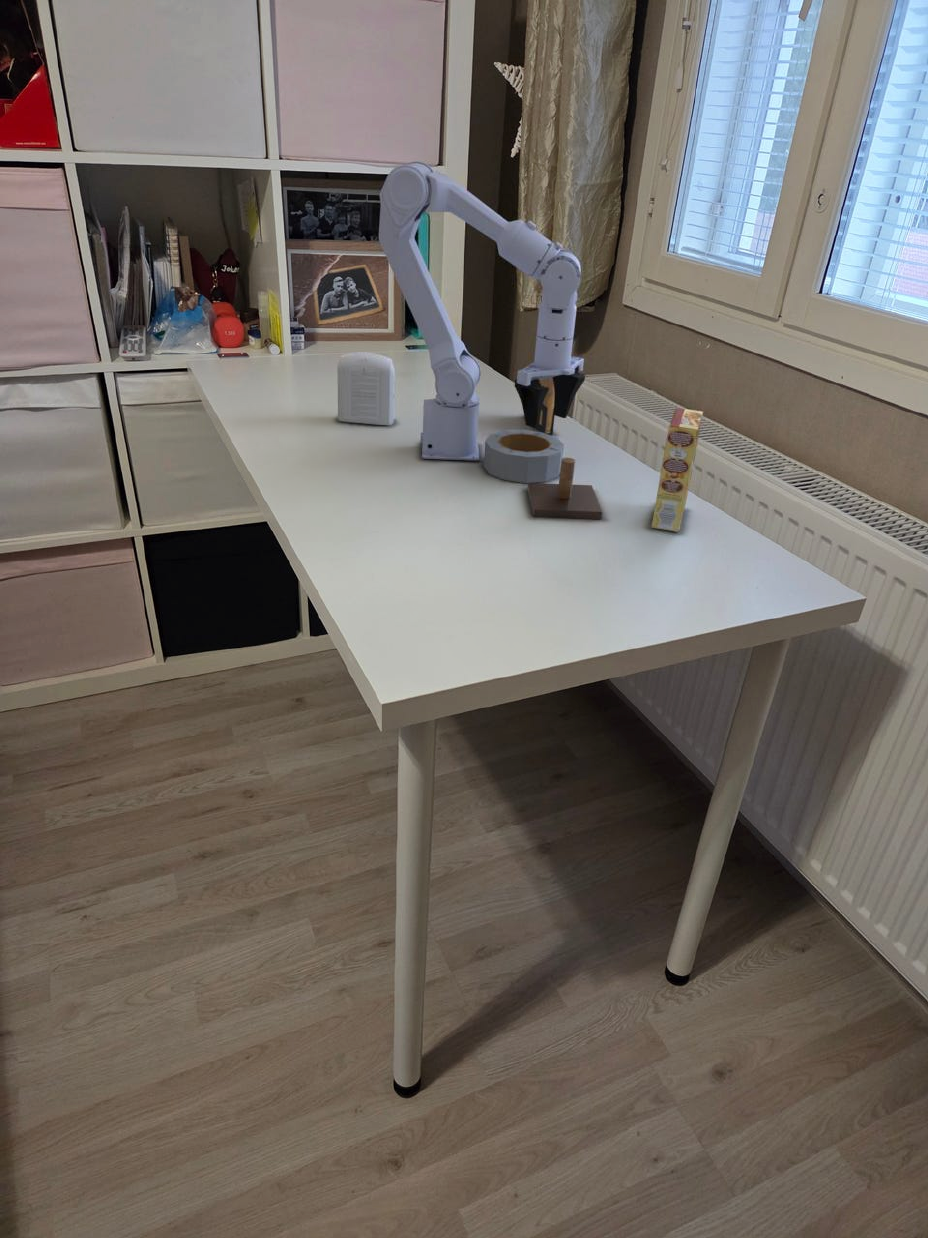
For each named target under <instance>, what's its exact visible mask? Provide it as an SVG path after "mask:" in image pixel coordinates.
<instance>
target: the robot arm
mask: <svg viewBox="0 0 928 1238" xmlns="http://www.w3.org/2000/svg"><path fill="white" fill-rule="evenodd" d="M379 201H380V209H379V210H380V211H379V224H378V225H379V226H378V241H379V244H380V246H381V249H382V252H383V253H384V256H385V257H386V259H387V262H388V264H389V266H390V269H391V271H392V273H393V275H394V277H395V279H396V281H397V284H398V286H399V288H400V290H401V292H402V295H403V297H404V299H405V301H406V304H407V306H408V308H409V310H410V312H411V314H412V316H413V319H414V321H415V324H416V326H417V328H418V330H419V332H420V334H421V336H422V337H421V338H422V339H423V341H424V343H425V345H426V347H427V349H428V354H429V360H430V367H431V370H432V372H433V375H434V388H435V392H436V395H435V398H429V399H428V398H427V399H423V410H422V411H423V412H422V413H423V414H422V432H420V444H422V449H421V450H422V451H421V458H422V459H426V460H427V459H428V460H446V461H447V460H450V461H451V460H453V461H476V462H478V461H480V451H479V443H478V429H479V427H478V426H479V413H480V412H479V411H480V410H479V409H480V397H479V396H478V394H477V392H476V390H475V388H476V387H477V386H478V383H479V381H480V379H481V376H482V368H481V364H480V363H479V362H478V360H477V359H476V358H475V357H474V356H473V355H472V354H470V352H469V351H468V349H467V348H466V346H465V343H464V341H462V340H461V338H460V337H459V336H458V335H457V333H456V331H455V328H454V326H453V324H452V321H451V319H450V316H449V314H448V312H447V310H446V307H445V306H444V303H443V300H442V299H441V296H440V294H439V291H438V289H437V286H436V285H435V282H434V280H433V278H432V276H431V274H430V271H429V268H428V267H427V264H426V262H425V259H424V257H423V255H422V253H421V250H420V248H419V246H418V244H417V241H416V239H415V237H416V233H417V231H418V229H419V226H420V223H421V220H422V217H423V215H424V214H425V213H426V211H427V212H431V213H451V214H452V215H454V216H456V217H457V218H459V219H461V220H462V221H464V223H466V224H468V225H470V226H471V227H473V228H474V229H475V230H477V231H479V232H480V233H482V234H483V235H485V236H487V237H488V238H490V239H491V240H493V241H494V242H495V243H496V245H497V250H498V251H497V252H498V256H500V257H501V258H503V259H504V260H506V261H507V262H508V263H510V264H511V265H512V266H514V267H515V268H517V269H518V270H519V271H521V272H522V273H524V274H525V275H527V276H528V277H530V278H531V279H533V280H539V281H540V285H541V288H542V292H541V293H542V294H541V302H540V303H539V306H538V307H539V308H538V318H537V325H536V326H537V327H536V337H535V347H534V348H535V349H534V360H533V362H531V363H529V364H528V365H527V366H525V367H524V368H522V369H519V370H517V377H516V379H514V388H515V390H516V392H517V395H518V396H519V399H520V403H521V407H522V412H523V418H524V425H525V426H527V427H531V428H534V429H537V428H536V427H538V424H539V421H540V415H541V409H542V405H543V402H544V399H545V397H546V394H547V392H548V390H549V388H548V387H544V386H541V383H539V382H540V380H543V379H547V378H551V377H552V378H553V383H554V414H555V417H558V418H561V419H566V418H567V417H568V414H569V412H570V409H571V407H572V403H573V401H574V400H575V397H576V395H577V393H578V391H579V389H580V388H581V386H582V385H583V384H584V382H585V380H586V374H584V373H581V372H582V371H584V363H585V359H584V358H582V357H578V356H572V353H573V352H572V351H573V344H574V343H573V342H574V335H575V326H576V317H577V309H578V307H577V304H576V303H577V302H578V291H577V290H578V289H579V287H580V285H581V281H582V278H581V274H582V268H581V264H580V263H581V262H580V261H579V259H578V258H577V256H575V255H574V254H573V252H572V251H571V250H570V249H565V248H563V245H562V243H560V242H558V241H556V242H555V243H554V242H553V241H552V240H550V239H549V238H547V237H546V236H544V235H543V234H542V233H540V232H539V231H538V230H536V227H537V225H536V224H535V223H534V222H533V221H531V220H528V221H527V222H525V221H523V220H522V219H515V220H512V221H508V220H506V219H505V218H503V217H502V216H501V215H500V214H498V212H495V210H493V209H492V208H491V207H489V206H488V205H487V204H485V203H484V202H483V201H482V200H480V199H479V198H478V197H476V196H475V195H474V194H472V193H471V192H470V191H468V190H467V189H466V188H465V187H464V186H462V185H461V184H459V183H458V182H457V181H455V180H454V179H452V178H450V177H449V176H448V175H446V174H445V173H442V172H440V171H438V170H435V171H434V170H433V168H432V167H431V166H430V165H428V164H427V163H425V162H422V161H416V160H415V161H411V162H407V163H406V164H400V165H398V166H395V167H394V168H393V169H391V171H390V172H389V173H388V175H387V176H386V178H385V180H384V183H383V186H382V188H381V190H380V192H379Z"/></svg>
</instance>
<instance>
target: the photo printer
mask: <svg viewBox="0 0 928 1238" xmlns="http://www.w3.org/2000/svg"><path fill="white" fill-rule="evenodd" d="M336 368H337V369H336V371H337V373H336V374H337V420H338V421H339V422H345V423H354V424H355V423H357V424H367V425H368V424H369V425H377V426H392V425H393V424H394V421H395V418H394V417H395V381H396V380H395V378H396V377H395V375H396V372H395V366H394V360H393V359H392V358H390V357H388V356H385V355H383V354H378V353H374V352H365V351H357V352H349V353H346V354H341V355H340V356H339V358H338V363H337V367H336Z"/></svg>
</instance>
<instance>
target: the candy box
mask: <svg viewBox="0 0 928 1238" xmlns="http://www.w3.org/2000/svg"><path fill="white" fill-rule="evenodd" d="M703 415H704V411H700V410H696V409H695V410H694V409H686V408H680V407H676V408H675V409H674V412H673V415H672V418H671V420H670V423H669V426H668V428H667V429H668V430H667V434H666V435H667V436H666V441H665V447H664V452H663V457H662V463H661V469H660V475H659V481H658V488H657V492H656V493H657V494H656V498H655V505H654V511H653V517H652V522H651V528H652V529H658V530H663V531H670V532H675V533H678V532H679V531H680V528H681V526H682V525H681V524H682V521H683V516H684V512H685V509H686V504H687V498H688V494H689V489H690V484H691V479H692V475H693V469H694V465H695V459H696V453H697V450H698V449H697V448H698V443H699V438H700V431H701V425H702V420H703Z"/></svg>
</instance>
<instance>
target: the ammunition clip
mask: <svg viewBox="0 0 928 1238" xmlns="http://www.w3.org/2000/svg"><path fill="white" fill-rule="evenodd" d="M539 383H541V386H544V387H548V388H549V390H548V392H547V394H546V397H545V399H544V402H543V405H542V409H541V415H540V421H539V424H538V427H536V428H535V429H537V431H538V432H542V433H545V434H548V435H551V436H554V435H553V434H554V426H555V417H556V416H555V414H554V383H553V378H552V377H551V378H547V379H543V380H540V382H539Z"/></svg>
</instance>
